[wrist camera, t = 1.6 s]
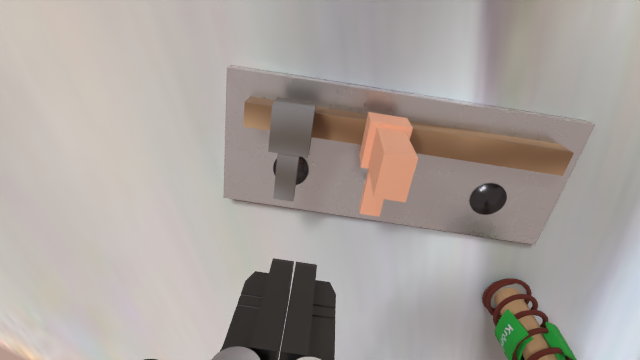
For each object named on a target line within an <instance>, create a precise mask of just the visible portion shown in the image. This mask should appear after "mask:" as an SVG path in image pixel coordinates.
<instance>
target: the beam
mask: <svg viewBox="0 0 640 360" xmlns="http://www.w3.org/2000/svg"><path fill="white" fill-rule="evenodd" d="M367 116H368V114H362V113H356V112H349V111H343V110H337V109H330V108H324V107H317V106H316V103H314V102H308V101H301V100H295V99H288V98H282V97H277V98H276V100H272V99H266V98H259V97H253V96H250V97H249V98H248V99H247V100H246V101H245V104H244V125H243V127H248V128H255V129H261V130H268V131H270V136H269V148H268V152H273V153H278V154H277V165H276V175H275V185H274V196H273V199H278V200H285V201H291V202H293V200H294V195H295V188H296V180H297V172H298V164H299V157H305V158H308V155H309V150H310V145H311V138H312V137H313V138H320V139H326V140H333V141H339V142H346V143H352V144H359V145H362V140H363V135H364V130H365V126H366V121H367ZM409 122H410V124H411V125H412V127H413V129H412V133H411V137H410V142H411V144H412V146H413V148H414V150H415V152H416V153H417V154H424V155H430V156H437V157H443V158H450V159H456V160H463V161H469V162H476V163H482V164H489V165H495V166H502V167H508V168H515V169H521V170H528V171H534V172H541V173H547V174H554V175H560V176H563V174H564V172H565V170H566V168H567V166H568V164H569V162H570V160H571V158H572V156H573V154H574V153H573V152H571V151H570V150H568V149H567V148H565V147H564V146H562V145H561V144H556V143H549V142H543V141H536V140H530V139H523V138H517V137H511V136H504V135H498V134H491V133H485V132H478V131H472V130H465V129H459V128H453V127H446V126H440V125H433V124H427V123H420V122H414V121H409Z"/></svg>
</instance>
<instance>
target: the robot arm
mask: <svg viewBox="0 0 640 360" xmlns="http://www.w3.org/2000/svg"><path fill="white" fill-rule="evenodd" d="M293 265H294V261H287V260H281V259H274V258H273V261H272V264H271V268H270V272H269V273H263V272H256V271H255V272H254V273H253V274H252V275H251V276H250V277H249V278H248V279H247V280H246V281H245V284H244V287H243V290H242V292H241V296H240V298H239V301H238V305H237V307H236V310H235V313H234V315H233V318H232V321H231V324H230V327H229V330H228V333H227V336H226V338H225V341H224V344H223V347H222V349H221V350H220V352H219V353H217V354H216V355H215V356H214V357H213V359H212V360H278V358H279V352H280V358H279V360H334V353H335V304H336V294H335V292H334V290H333V288H332V286H331V284H330V282H324V281H318V280H315V279H316V268H317V265H315V264H308V263H301V262H296V266H295V272H294V277H293V283H292V289H291V294H290V287H291V280H292V272H293ZM289 294H290V300H289ZM288 301H289V306H288ZM287 307H288V311H287ZM286 313H287V317H286ZM285 319H286V323H285ZM284 324H285V328H284ZM283 330H284V334H283ZM282 335H283V340H282ZM281 341H282V345H281ZM280 347H281V351H280ZM145 360H156V359H145Z"/></svg>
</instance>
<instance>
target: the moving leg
mask: <svg viewBox="0 0 640 360" xmlns="http://www.w3.org/2000/svg"><path fill="white" fill-rule="evenodd" d="M412 129H413V127H412V125H411V124H410V122H409V120H408V118H404V117H398V116H391V115H385V114H378V113H372V112H368V116H367V121H366V126H365V130H364V135H363V140H362V145H361V150H360V155H359V157H360V166H361V168H367V169H368V170H367V175H366V179H365V181H364V188H363V193H362V197H361V202H360V206H359V211H360V214H365V215H371V216H378V217H380V213H381V209H382V205H383V201H384V199H386V200H393V201H399V202H406V199H407V196H408V193H409V189H410V186H411V182H412V179H413V175H414V172H415V168H416V165H417V161H418V156H417V154H416V152H415V150H414V148H413V146H412V144H411V142H410V137H411V133H412Z"/></svg>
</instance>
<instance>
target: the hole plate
mask: <svg viewBox="0 0 640 360" xmlns="http://www.w3.org/2000/svg"><path fill="white" fill-rule="evenodd" d="M250 96H253V97H259V98H266V99H272V100H276V98H277V97H282V98H288V99H295V100H301V101H308V102H314V103H316V106H317V107H324V108H330V109H337V110H343V111H349V112H356V113H362V114H368V112H372V113H378V114H385V115H391V116H398V117H404V118H408V120H409V121H414V122H420V123H427V124H433V125H440V126H446V127H453V128H459V129H465V130H472V131H478V132H485V133H491V134H498V135H504V136H511V137H517V138H523V139H530V140H536V141H543V142H549V143H556V144H561V145H562V146H564V147H565V148H567V149H568V150H570V151H571V152H573V153H574V154H573V156H572V158H571V160H570V162H569V164H568V166H567V168H566V170H565V172H564V174H563V176H560V175H554V174H547V173H541V172H534V171H528V170H521V169H515V168H508V167H502V166H495V165H489V164H482V163H476V162H469V161H463V160H456V159H450V158H443V157H437V156H430V155H424V154H417V153H416V154H417V156H418V161H417V165H416V168H415V172H414V175H413V179H412V182H411V186H410V189H409V193H408V196H407V199H406V202H399V201H393V200H386V199H384V201H383V205H382V209H381V213H380V217H378V216H371V215H365V214H360V211H359V206H360V202H361V197H362V193H363V188H364V181H365V179H366V175H367V170H368V169H367V168H361V166H360V157H359V155H360V150H361V145H359V144H352V143H346V142H339V141H333V140H326V139H320V138H313V137H312V138H311V145H310V150H309V155H308V158H305V157H299V164H298V172H297V180H296V188H295V195H294V200H293V202H291V201H285V200H278V199H273V196H274V185H275V175H276V165H277V154H278V153H273V152H268V148H269V136H270V131H268V130H261V129H255V128H248V127H243V125H244V104H245V101H246V100H247V99H248V98H249V97H250ZM594 126H595V125H594V124H592V123H590V122H588V121H585V120H579V119H572V118H566V117H560V116H553V115H547V114H540V113H534V112H528V111H521V110H515V109H508V108H502V107H496V106H489V105H483V104H476V103H470V102H464V101H457V100H451V99H444V98H438V97H432V96H425V95H419V94H412V93H406V92H400V91H393V90H387V89H380V88H374V87H368V86H361V85H355V84H348V83H342V82H336V81H329V80H323V79H316V78H310V77H304V76H297V75H291V74H284V73H278V72H272V71H265V70H259V69H252V68H246V67H240V66H233V65H231V66H229V67H227V87H226V125H225V164H224V198H230V199H236V200H243V201H249V202H256V203H263V204H269V205H276V206H283V207H289V208H296V209H302V210H309V211H316V212H322V213H329V214H336V215H342V216H349V217H355V218H362V219H369V220H375V221H382V222H389V223H395V224H402V225H408V226H415V227H422V228H428V229H435V230H442V231H448V232H455V233H461V234H468V235H475V236H481V237H488V238H495V239H501V240H508V241H514V242H521V243H528V244H534V245H535V243H536V241H537V239H538V237H539V235H540V234H541V232H542V230H543V228H544V226H545V224H546V222H547V220H548V218H549V216H550V214H551V212H552V210H553V208H554V206H555V204H556V202H557V200H558V198H559V196H560V194H561V192H562V190H563V188H564V186H565V184H566V182H567V180H568V178H569V176H570V174H571V172H572V170H573V168H574V166H575V164H576V162H577V160H578V158H579V156H580V154H581V152H582V150H583V148H584V146H585V144H586V142H587V140H588V138H589V136H590V134H591V132H592V130H593V128H594Z"/></svg>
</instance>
